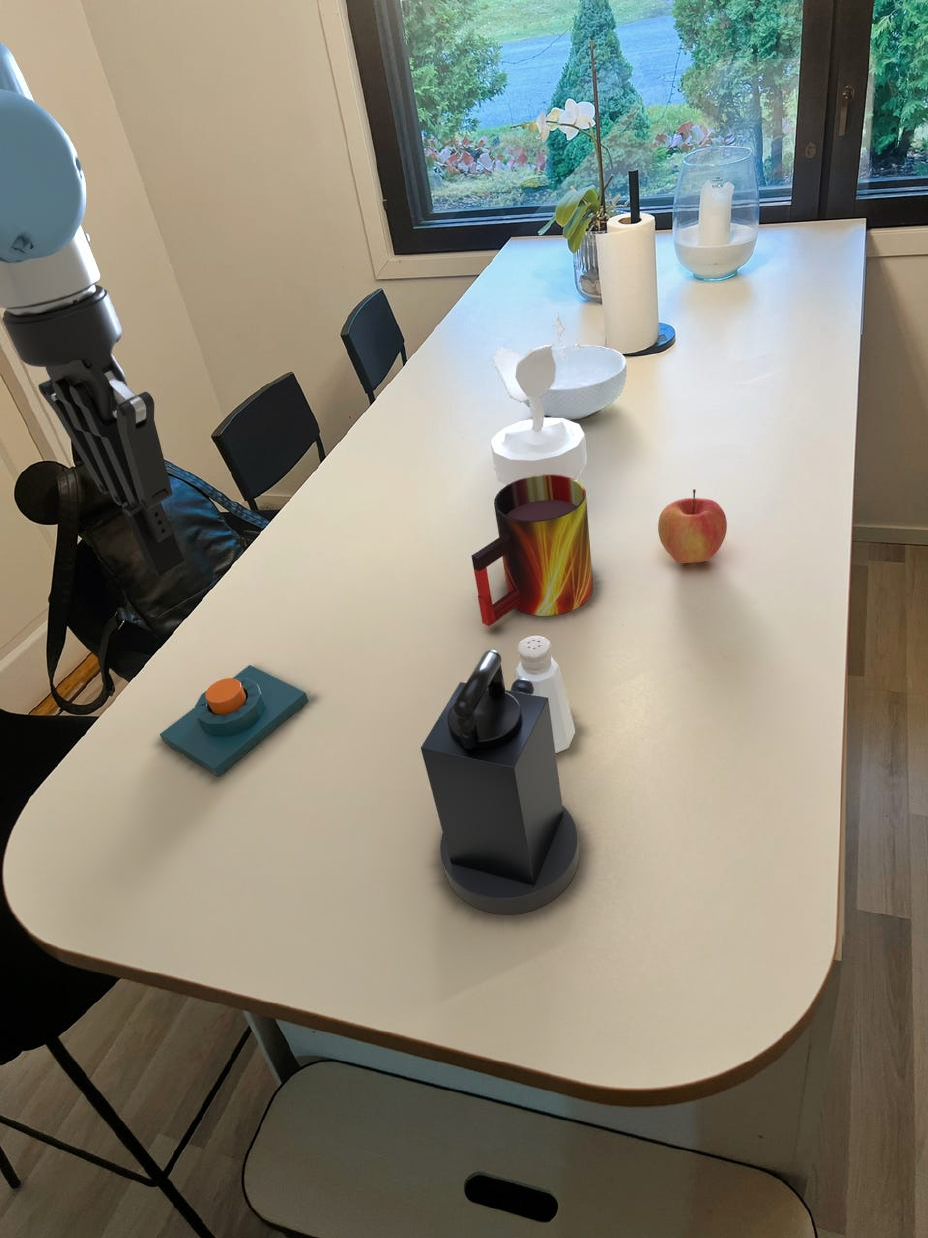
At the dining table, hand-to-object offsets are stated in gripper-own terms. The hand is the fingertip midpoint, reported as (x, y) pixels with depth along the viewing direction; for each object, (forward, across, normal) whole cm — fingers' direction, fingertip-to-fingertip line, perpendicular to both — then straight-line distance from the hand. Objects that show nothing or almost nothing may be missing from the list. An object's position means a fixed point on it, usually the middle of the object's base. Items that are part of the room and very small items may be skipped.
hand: (167, 566), depth 77 cm
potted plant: (+19, -5, -49) cm, 53 cm away
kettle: (+17, -33, -4) cm, 37 cm away
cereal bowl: (+19, +7, -74) cm, 77 cm away
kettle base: (+19, -34, -2) cm, 39 cm away
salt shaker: (+20, -28, -14) cm, 37 cm away
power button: (+17, 0, 0) cm, 17 cm away
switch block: (+19, 0, 0) cm, 19 cm away
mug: (+19, -17, -32) cm, 41 cm away
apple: (+19, -27, -46) cm, 57 cm away
